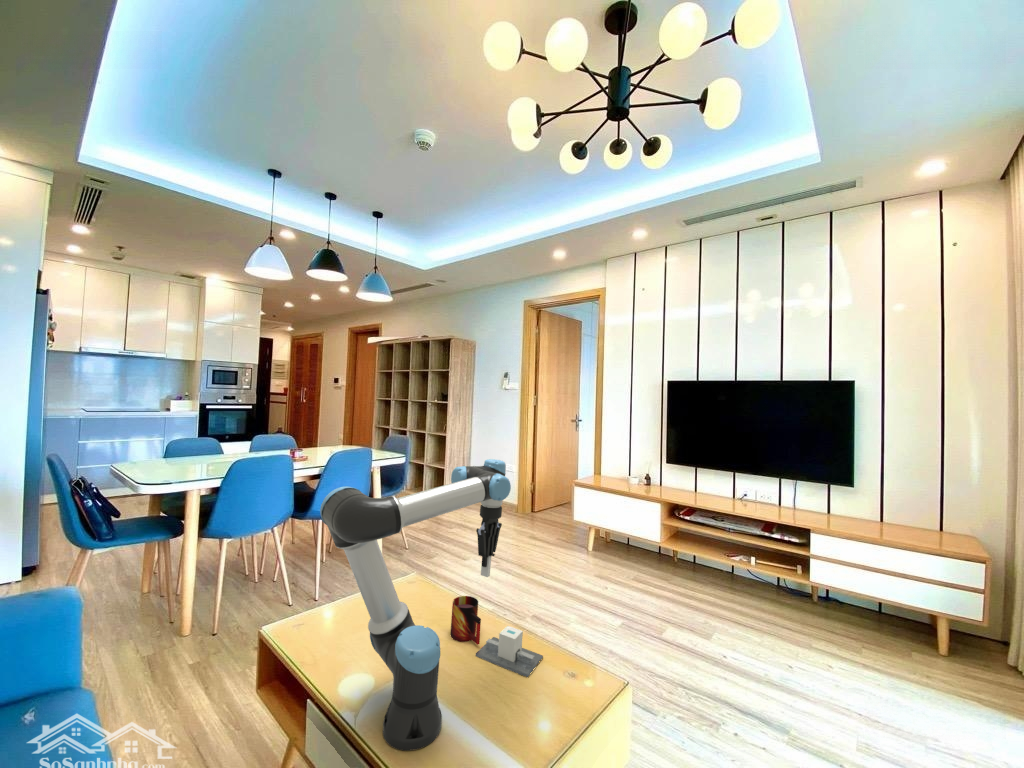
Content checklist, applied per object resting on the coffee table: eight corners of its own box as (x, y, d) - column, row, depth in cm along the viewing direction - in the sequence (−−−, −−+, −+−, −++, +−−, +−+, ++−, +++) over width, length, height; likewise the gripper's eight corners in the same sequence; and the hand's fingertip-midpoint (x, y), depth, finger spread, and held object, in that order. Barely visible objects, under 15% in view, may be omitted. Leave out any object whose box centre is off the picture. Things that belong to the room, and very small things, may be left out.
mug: (478, 648, 145) (480, 614, 146) (445, 637, 151) (447, 603, 152) (490, 635, 154) (492, 602, 155) (459, 625, 160) (461, 593, 160)
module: (513, 662, 137) (514, 639, 138) (497, 655, 140) (499, 633, 140) (521, 653, 142) (522, 630, 143) (506, 647, 145) (507, 625, 146)
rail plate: (527, 677, 131) (528, 668, 131) (475, 656, 141) (476, 647, 141) (542, 658, 142) (543, 649, 142) (493, 639, 151) (493, 631, 151)
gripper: (490, 510, 133) (483, 584, 132) (510, 504, 145) (504, 572, 143) (471, 506, 137) (464, 578, 136) (492, 500, 148) (486, 567, 147)
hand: (485, 575), depth 139 cm, fingers closed
